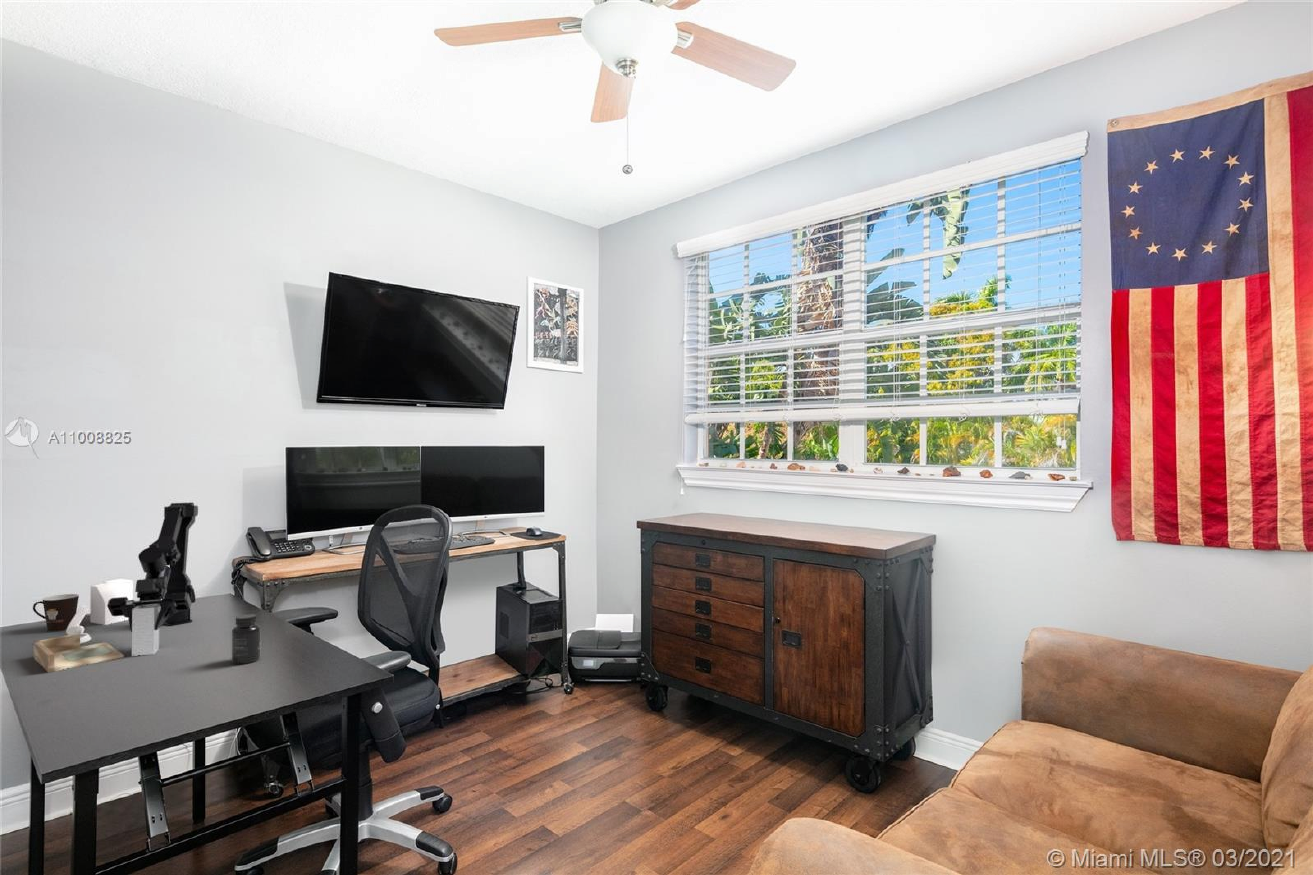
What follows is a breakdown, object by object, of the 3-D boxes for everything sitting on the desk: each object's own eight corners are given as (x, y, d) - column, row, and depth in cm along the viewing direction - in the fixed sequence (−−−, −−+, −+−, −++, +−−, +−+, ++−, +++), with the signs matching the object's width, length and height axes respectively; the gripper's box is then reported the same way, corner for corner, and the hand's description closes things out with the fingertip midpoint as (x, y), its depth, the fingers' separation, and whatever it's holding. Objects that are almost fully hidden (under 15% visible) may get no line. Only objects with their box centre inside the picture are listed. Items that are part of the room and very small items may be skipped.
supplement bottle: (266, 658, 183) (266, 614, 183) (242, 666, 177) (242, 620, 177) (250, 655, 186) (250, 612, 186) (225, 662, 180) (225, 618, 180)
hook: (109, 616, 208) (101, 607, 203) (87, 654, 201) (78, 647, 195) (82, 612, 207) (73, 603, 201) (59, 650, 199) (49, 642, 194)
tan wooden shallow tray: (105, 644, 196) (105, 628, 196) (123, 657, 185) (123, 640, 185) (33, 657, 184) (33, 641, 184) (48, 672, 172) (48, 655, 172)
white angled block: (120, 613, 231) (120, 578, 231) (141, 616, 226) (141, 581, 226) (84, 621, 221) (84, 585, 221) (105, 625, 217) (105, 587, 217)
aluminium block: (137, 651, 190) (138, 605, 190) (159, 649, 192) (159, 603, 192) (131, 656, 185) (132, 609, 185) (153, 654, 187) (154, 607, 187)
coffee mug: (85, 626, 215) (85, 595, 215) (53, 633, 207) (53, 601, 207) (61, 623, 219) (61, 592, 219) (29, 630, 211) (29, 598, 211)
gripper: (109, 569, 188) (94, 618, 178) (188, 564, 196) (178, 611, 186) (119, 591, 196) (105, 639, 186) (195, 586, 203) (185, 632, 193)
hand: (143, 630), depth 187 cm, fingers closed on aluminium block, 5 cm apart
